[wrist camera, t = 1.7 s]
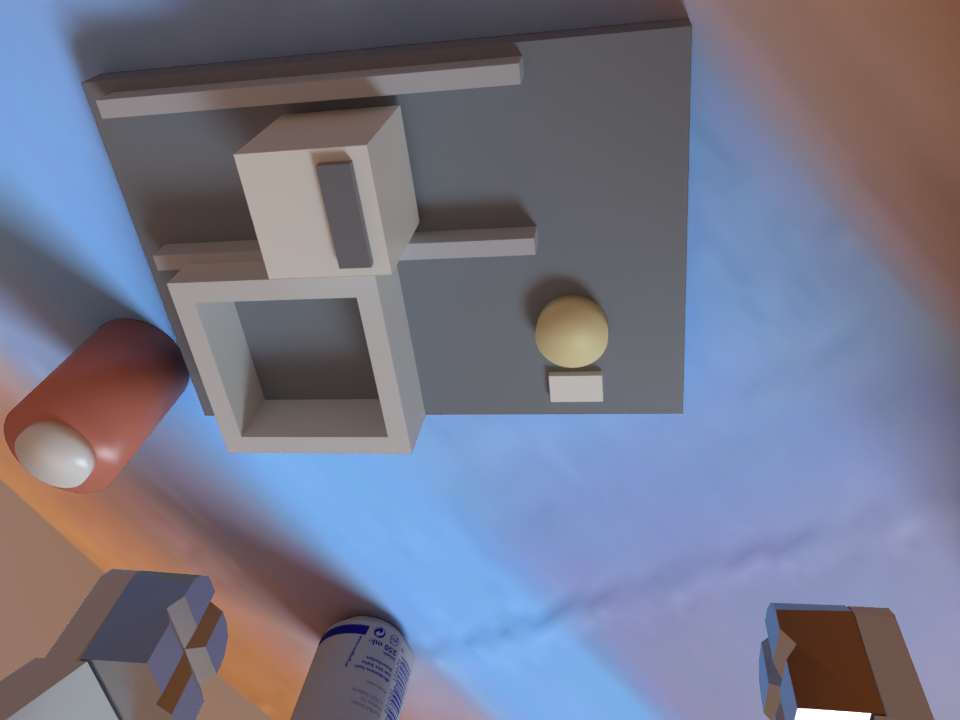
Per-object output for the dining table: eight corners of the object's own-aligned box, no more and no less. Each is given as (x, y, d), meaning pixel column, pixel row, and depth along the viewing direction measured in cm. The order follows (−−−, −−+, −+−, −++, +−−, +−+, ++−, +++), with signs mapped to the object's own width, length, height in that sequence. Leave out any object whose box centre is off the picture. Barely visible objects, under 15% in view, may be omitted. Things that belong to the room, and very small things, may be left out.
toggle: (400, 105, 25) (364, 148, 22) (419, 221, 28) (389, 279, 24) (282, 114, 26) (229, 158, 23) (310, 227, 28) (265, 283, 25)
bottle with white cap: (170, 317, 33) (81, 411, 28) (201, 402, 36) (125, 504, 30) (77, 319, 34) (-28, 411, 29) (113, 403, 36) (24, 502, 31)
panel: (689, 18, 24) (698, 44, 21) (680, 395, 32) (687, 455, 29) (100, 73, 28) (35, 103, 25) (216, 399, 35) (178, 452, 32)
